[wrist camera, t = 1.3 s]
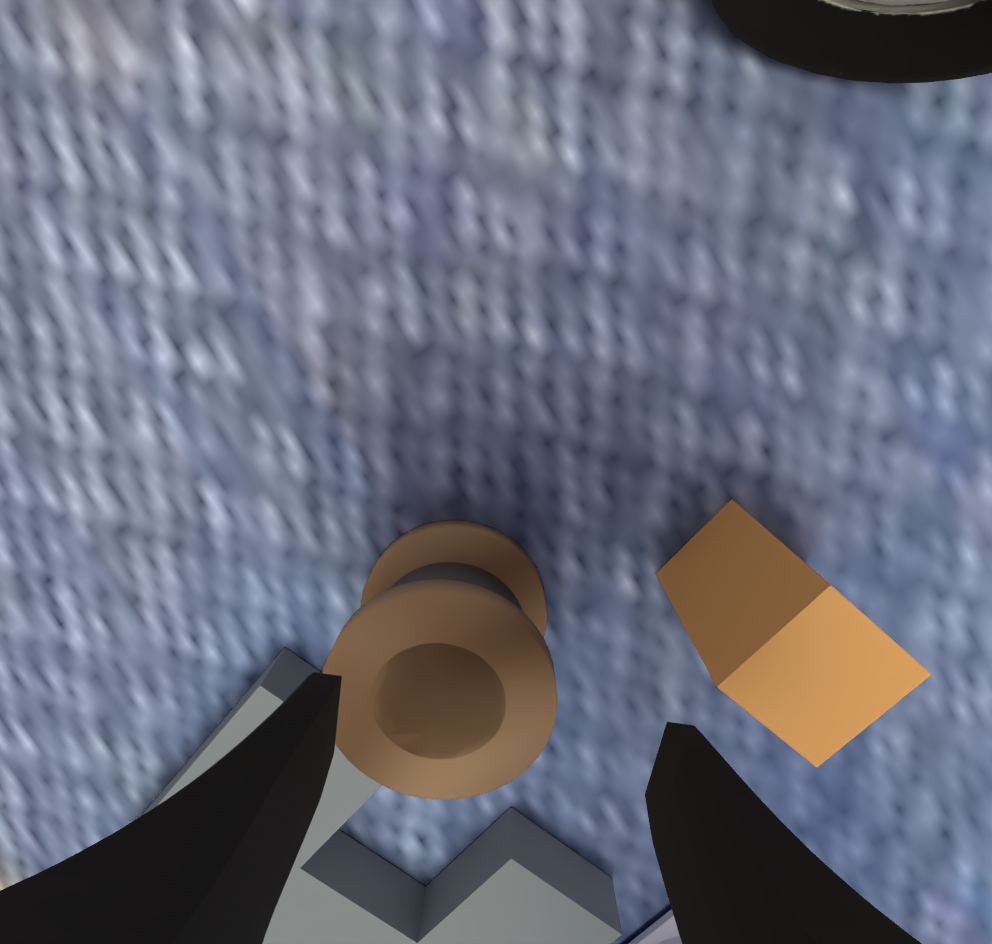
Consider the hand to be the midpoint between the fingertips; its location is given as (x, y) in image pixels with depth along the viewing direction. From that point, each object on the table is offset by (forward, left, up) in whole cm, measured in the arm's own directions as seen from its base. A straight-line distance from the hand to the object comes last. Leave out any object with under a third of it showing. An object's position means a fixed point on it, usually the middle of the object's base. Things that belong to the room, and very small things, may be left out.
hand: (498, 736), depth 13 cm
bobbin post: (0, +3, -10) cm, 10 cm away
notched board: (-5, +15, -10) cm, 19 cm away
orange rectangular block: (-7, -5, -10) cm, 13 cm away
